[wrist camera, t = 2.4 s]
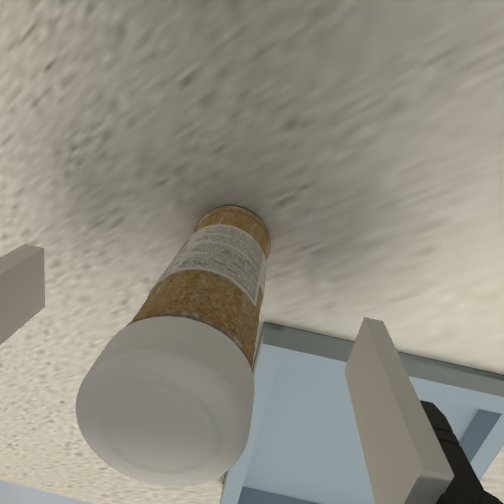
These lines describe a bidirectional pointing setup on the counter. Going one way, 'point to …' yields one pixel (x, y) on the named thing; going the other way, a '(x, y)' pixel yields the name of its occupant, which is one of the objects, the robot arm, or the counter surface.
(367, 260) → the counter surface
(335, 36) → the counter surface
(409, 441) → the robot arm
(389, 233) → the counter surface
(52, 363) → the counter surface
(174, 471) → the sprinkles bottle
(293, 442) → the tray
